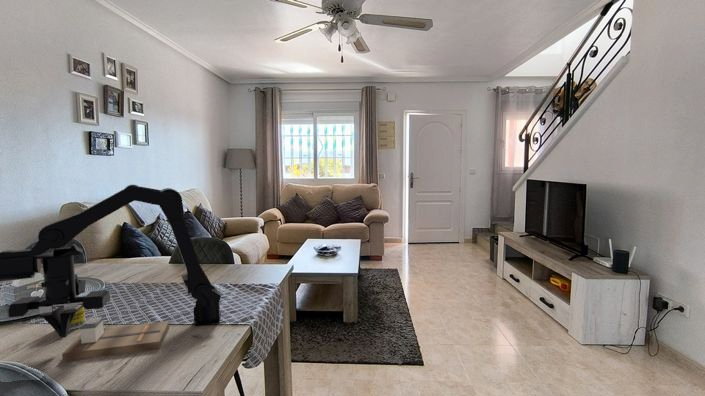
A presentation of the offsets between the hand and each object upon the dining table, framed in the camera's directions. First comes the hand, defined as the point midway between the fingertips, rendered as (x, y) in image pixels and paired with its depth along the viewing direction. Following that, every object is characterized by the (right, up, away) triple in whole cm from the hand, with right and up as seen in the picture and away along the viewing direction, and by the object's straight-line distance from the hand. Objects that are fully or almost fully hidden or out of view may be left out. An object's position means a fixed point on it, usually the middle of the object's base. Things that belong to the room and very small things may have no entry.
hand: (64, 336), depth 87 cm
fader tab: (+6, -1, +2) cm, 6 cm away
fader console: (+11, -3, +4) cm, 12 cm away
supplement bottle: (-8, -2, +13) cm, 16 cm away
